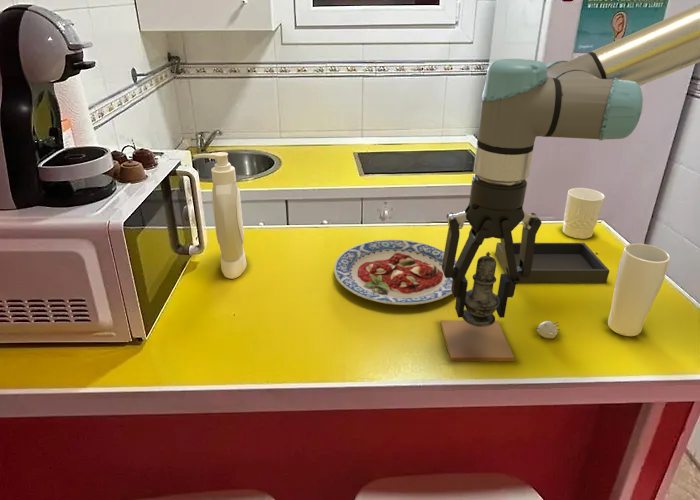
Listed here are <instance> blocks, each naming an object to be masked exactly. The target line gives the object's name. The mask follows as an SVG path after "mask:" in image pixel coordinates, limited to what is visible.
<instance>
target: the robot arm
mask: <svg viewBox="0 0 700 500" xmlns="http://www.w3.org/2000/svg"><path fill="white" fill-rule="evenodd" d="M699 63H700V3H699V4H697V5H695V6H692V7H690V8H687V9H686V10H683V11H681V12H679V13H676V14H673V15H672V16H669V17H667V18H665V19H663V20H661V21H659V22H656V23H653V24H651V25H648V26H647V27H644V28H642V29H639V30H638V31H635V32H633V33H630V34H628V35H626V36H624V37H621V38H619V39H617V40H615V41H611V42H610V43H607V44H605V45H603V46H601V47H599V48H596V49H593V50H592V51H590V52H587V53H584V54H582V55H580V56H577V57H574V58H572V59H569V60H555V61H552V62H549V63H547V64H546V63H545V62H543V61H541V60H536V59H535V60H534V59H524V58H501V59H497V60H494V61H492V62H491V63H490V64H489V66H488V67H487V71H486V75H485V81H484V86H483V91H482V95H481V104H480V105H481V106H480V112H479V113H480V114H479V122H478V123H479V124H478V131H477V141H476V148H475V156H474V164H473V170H472V171H473V173H474V175H472V179H471V184H470V185H471V186H470V192H469V193H470V196H469V202H468V205H467V207H466V208H465V209H464V211H463V212H459V213H456V214H455V213H454V212H448V213H447V214H446V221H447V226H448V227H447V228H448V229H447V235H446V241H445V245H444V250H443V251H444V257H443V262H442V270H443V273H444V276H445V277H446V278H453V279H452V287H451V291H452V294H451V295H452V297H453V298H455V305H454V309H455V312H456V315H457V318H459V319H460V318H462V319H463V314H464V310H465V299H466V292H467V291H468V279H467V277H466V274H467V272H468V270H469V269H470V266H471V264H472V262H473V261H474V258H475V256H476V254H477V252H478V250H479V247H480V246H482V245H483V243H484V241H485V239H486V240H487V239H492V238H495V239H499V240H500V243H501V246H502V251H503V257H504V262H505V268H506V272H507V275H506V273H500V275H499V276H500V277H499V282H498V288H497V294H496V295H497V296H498V297H499V299H500V305H499V306H498V307H497V309H496V310H495V312H496V313H497V315H498V318H499V319H500V318H501V319H504V318H505V316H506V309H507V304H508V300H509V299H508V298H513V297H514V296H515V291H516V286H517V285H518V284H520V283H519V282H520V279H519V278H522V277H524V278H528V277H530V275H531V268H532V261H533V253H534V245H535V243H536V236H537V233H538V232H539V229H540V227H541V225H542V220H541V219H540V217H539V216H538V215H537V213H535V212H531V213H526V212H525V211H524V208H523V206H524V203H525V197H526V193H527V186H528V181H527V180H526V179H528V178H529V176H530V170H531V163H532V157H533V151H534V147H535V141H536V138H537V137H543V138H565V139H582V140H583V139H584V140H585V139H586V140H598V141H603V140H622V139H625V138H628V137H629V136H630V135H631V134H633V132H634V131H635V130H636V128H637V126H638V124H639V121H640V119H641V115H642V111H643V103H644V101H643V99H644V98H643V92H642V88H641V86H643V85H646V84H648V83H651V82H654V81H656V80H659V79H661V78H663V77H666V76H669V75H671V74H674V73H676V72H679V71H681V70H683V69H687V68H688V67H691V66H694V65H696V64H699ZM466 221H467V222H468V223H469V225H470V227H471V228H470V229H469V232H468V237H467V239H466V240H465V243H464V245H463V247H462V249H461V252H460V254H459V255H458V258H457V259H456V257H457V253H458V252H457V251H458V246H459V241H460V233H461V231H460V230H462V229H463V227H464V223H465V222H466ZM520 224H521V225H522V231H521V238H520V243H521V247H520V255H519V264H518V267H517V266H516V261H515V255H514V249H513V243H514V240H513V233H512V232H513V231H514V229H515V228H516V227H518V225H520ZM455 259H456V260H457V262H456V264H455V266H454V263H455Z"/></svg>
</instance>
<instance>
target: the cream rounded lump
mask: <svg viewBox="0 0 700 500" xmlns="http://www.w3.org/2000/svg"><path fill="white" fill-rule="evenodd" d="M559 326H560V324H559V321H555V322H553V321H552V320H551V321H550V320H545V321H543V322H541V323H540V324H539V325H538V327H536V328H535V330H536V331H537V333H538V335H539V336H541V337H542V338H545V339H554V338H556V337H557V335H558V333H559V331H560V329H561V328H558V327H559Z"/></svg>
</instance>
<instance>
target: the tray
mask: <svg viewBox="0 0 700 500" xmlns="http://www.w3.org/2000/svg"><path fill="white" fill-rule="evenodd" d="M520 247H521V242H513V249H514V255H515V261H516V266H517V267H518V264H519V255H520ZM494 255H495V257H496V259H497V261H498V262H499V264H500V266H501V268H502V270H503V271H504V274H506V275H507V272H506V268H505V262H504V257H503V251H502V246H501V242H496V245H495V252H494ZM610 272H611V271H610V269H609V268H608V267H607V266H606V264H605V263H603V262H602V260H601V259H600V258H599V257H598V255H596V254H595V252H593V251H592V249H590V247H589V246H588V245H587V244H586V243H585V242H535V245H534V253H533V261H532V268H531V275H530V277H528V278H524V277H522V278H519V279H520V282H519V283H518V284H607V281H608V278H609V274H610Z"/></svg>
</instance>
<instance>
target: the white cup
mask: <svg viewBox="0 0 700 500" xmlns="http://www.w3.org/2000/svg"><path fill="white" fill-rule="evenodd" d="M605 198H606V196H605V194H604V193H603V192H601V191H598V190H596V189H592V188H588V187H587V188H586V187H573V188H570V189H568V191H567V196H566V201H565V206H564V213H563V223H562V230H561V231H562V232H563V234H565V235H566V236H568V237H571V238H574V239H579V240H584V239H589V238H591V237H593V234H594V231H595V227H596V226H597V222H598V220H599V217H600V214H601V211H602V208H603V205H604V200H605Z"/></svg>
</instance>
